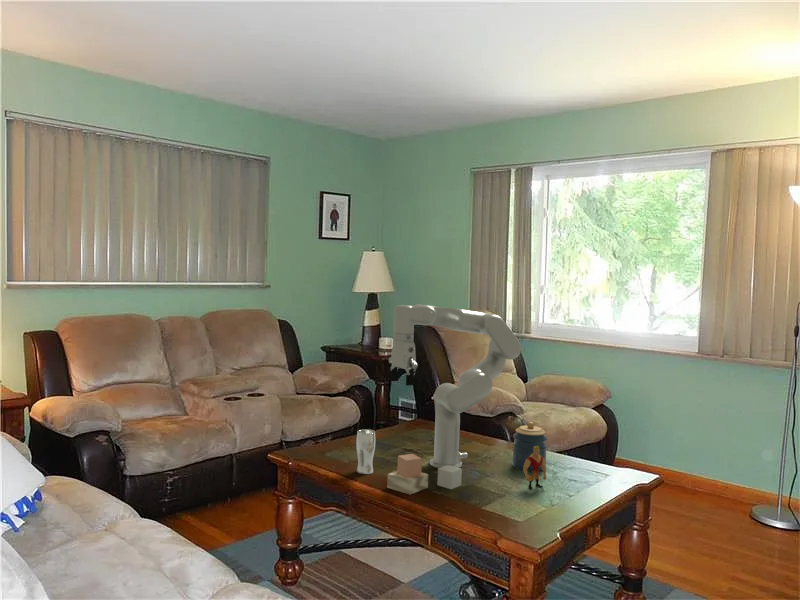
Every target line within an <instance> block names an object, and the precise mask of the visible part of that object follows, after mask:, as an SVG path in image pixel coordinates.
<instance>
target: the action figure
mask: <svg viewBox="0 0 800 600" xmlns="http://www.w3.org/2000/svg"><path fill="white" fill-rule="evenodd" d="M533 452H534V453H533V454H531V456H529V457H528V458H527V459H526V461H525V463H524V466H523V470H522V471H523V473H524V475H525V480H526V481H527V482H528V483H529V484H528V488H529V489H530V490H533V486H532V483H533V481H534V479H535V487H539V488H541V487H543V488H544V486H543V485H540V484H539V481H540V477H539V472H540V471H538V469H539V466H541V469H542V472H543V476H544V477H543V478H542V480H544V481H545V480H546V479H547V473H546V472H547V464H546V465H545V459H544V458H543V457H542V456H540V455H539V453H540V449H539V446H535V447H533ZM530 465H531V466H532V467H533V471H532V473H531V474H532V475H529V474H528V471H527V469H528V467H529V466H530Z"/></svg>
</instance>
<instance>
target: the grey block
mask: <svg viewBox="0 0 800 600" xmlns="http://www.w3.org/2000/svg"><path fill="white" fill-rule="evenodd" d="M462 474H463V468H461V467H460V468H457V467H454V466H450V465H446V466H444V467H441V468H437V486H439V487H442V488H445V489H449V490H453V489H456V488H458V487H461V486H462V477H463V475H462Z"/></svg>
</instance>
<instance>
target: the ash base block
mask: <svg viewBox="0 0 800 600" xmlns="http://www.w3.org/2000/svg"><path fill="white" fill-rule="evenodd" d="M386 483H387V485H386V487H387V488H388V489H391V490H393V491H396V492H400V493H403V494H407V495H412V494H416V493H418V492H420V491H423V490H425V489H428V488H429V474H428V473H426V472H422V471H421V476H416V477H410V478H405V477H403V476H402V475H400V474H398V473H397V470H395V471H393V472H390V473H387V482H386Z"/></svg>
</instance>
